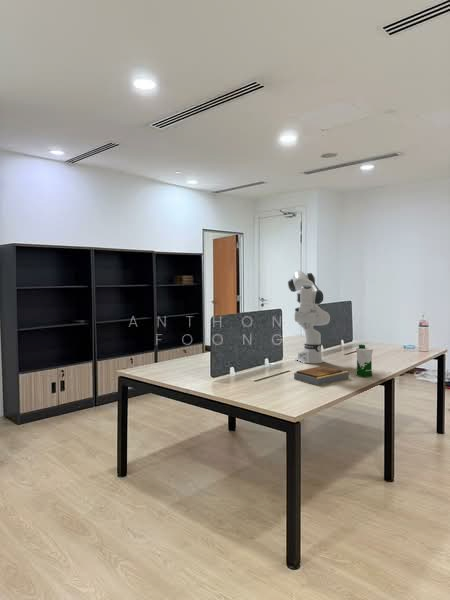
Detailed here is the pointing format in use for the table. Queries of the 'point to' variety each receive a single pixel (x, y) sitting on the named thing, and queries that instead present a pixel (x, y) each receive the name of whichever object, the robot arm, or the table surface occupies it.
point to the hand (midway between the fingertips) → (306, 329)
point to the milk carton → (364, 361)
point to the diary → (319, 371)
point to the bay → (322, 378)
